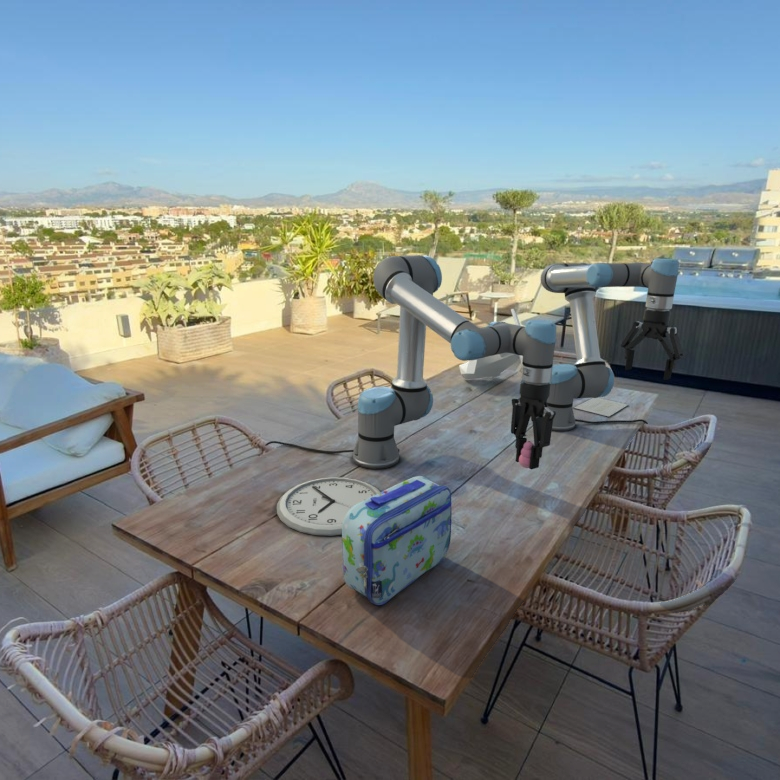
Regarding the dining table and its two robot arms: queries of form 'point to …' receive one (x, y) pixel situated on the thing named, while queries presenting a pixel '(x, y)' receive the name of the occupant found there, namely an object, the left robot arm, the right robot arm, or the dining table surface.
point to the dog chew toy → (525, 454)
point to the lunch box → (395, 537)
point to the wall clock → (322, 504)
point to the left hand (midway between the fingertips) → (526, 464)
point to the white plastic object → (490, 363)
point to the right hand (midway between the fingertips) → (646, 374)
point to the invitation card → (601, 406)
